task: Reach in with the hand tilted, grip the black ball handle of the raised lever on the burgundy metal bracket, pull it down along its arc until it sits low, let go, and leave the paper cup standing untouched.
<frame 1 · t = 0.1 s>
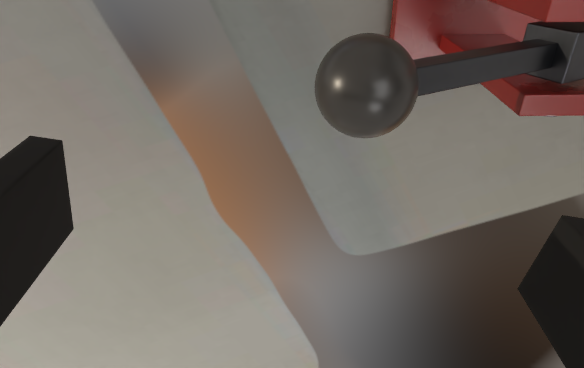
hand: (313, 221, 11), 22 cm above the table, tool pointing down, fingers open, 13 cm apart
lever: (473, 66, 17), point 15 cm above the table, hinge at 28.0°
bracket: (471, 7, 30), on the table
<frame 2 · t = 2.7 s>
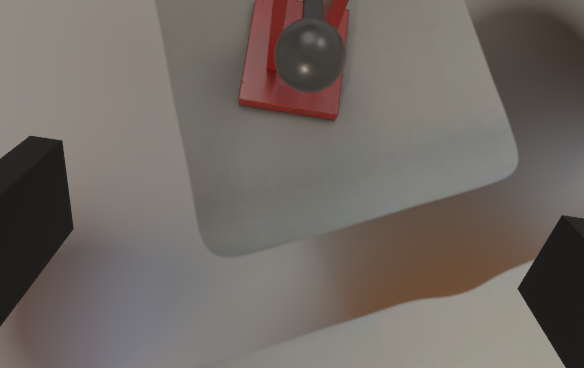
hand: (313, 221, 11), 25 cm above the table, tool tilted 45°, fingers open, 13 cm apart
lever: (312, 7, 25), point 15 cm above the table, hinge at 28.0°
bracket: (294, 59, 40), on the table
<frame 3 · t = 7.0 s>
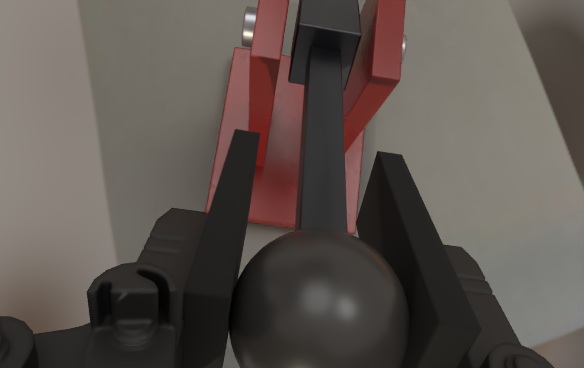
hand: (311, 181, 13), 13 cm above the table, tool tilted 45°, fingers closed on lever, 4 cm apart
lever: (321, 141, 12), point 15 cm above the table, hinge at 28.0°, touching gripper
bracket: (290, 143, 28), on the table
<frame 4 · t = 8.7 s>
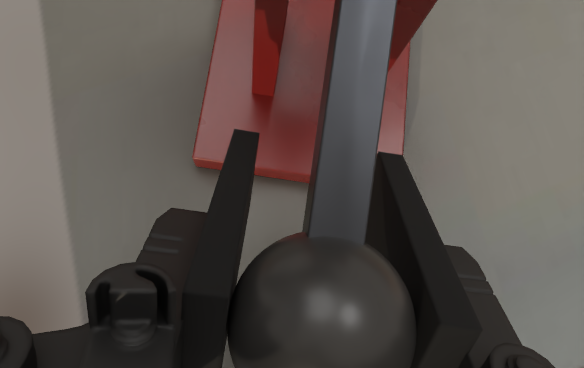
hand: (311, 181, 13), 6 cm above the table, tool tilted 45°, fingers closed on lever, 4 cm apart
lever: (356, 58, 9), point 11 cm above the table, hinge at -10.9°, touching gripper
bracket: (308, 72, 20), on the table
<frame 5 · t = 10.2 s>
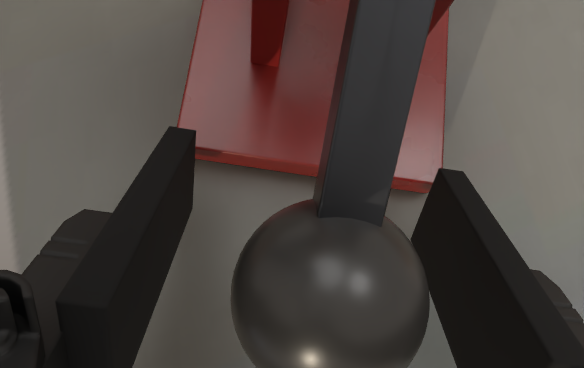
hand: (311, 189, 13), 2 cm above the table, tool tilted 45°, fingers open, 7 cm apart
bracket: (321, 40, 16), on the table
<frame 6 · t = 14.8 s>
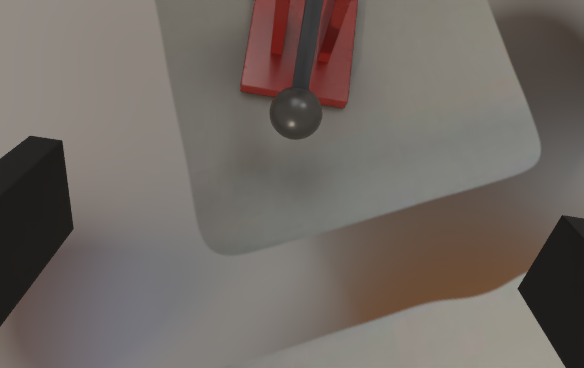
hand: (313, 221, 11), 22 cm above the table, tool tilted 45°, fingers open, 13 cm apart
lever: (309, 32, 28), point 9 cm above the table, hinge at -30.3°
bracket: (300, 43, 38), on the table
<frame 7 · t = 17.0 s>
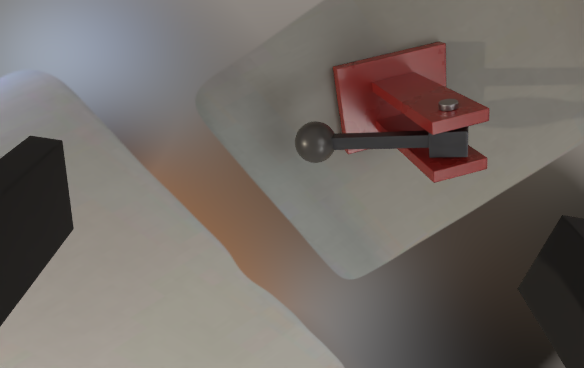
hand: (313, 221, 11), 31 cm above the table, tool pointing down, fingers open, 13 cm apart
lever: (375, 140, 35), point 9 cm above the table, hinge at -30.3°
bracket: (389, 97, 44), on the table
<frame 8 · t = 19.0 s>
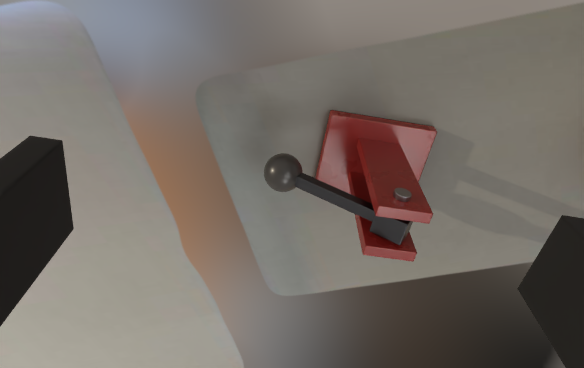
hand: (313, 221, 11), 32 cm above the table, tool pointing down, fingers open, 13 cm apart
lever: (333, 195, 38), point 9 cm above the table, hinge at -30.3°
bracket: (371, 156, 46), on the table
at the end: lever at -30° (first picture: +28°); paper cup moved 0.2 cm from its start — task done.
